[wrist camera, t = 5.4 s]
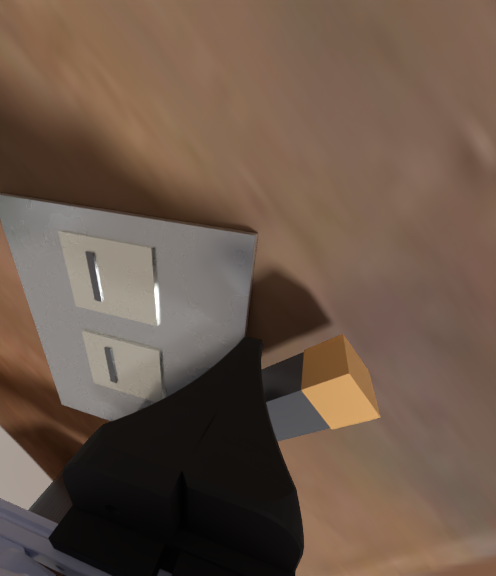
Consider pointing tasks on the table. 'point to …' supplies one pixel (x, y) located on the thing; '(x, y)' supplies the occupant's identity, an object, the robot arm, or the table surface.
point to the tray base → (128, 298)
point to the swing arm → (319, 390)
